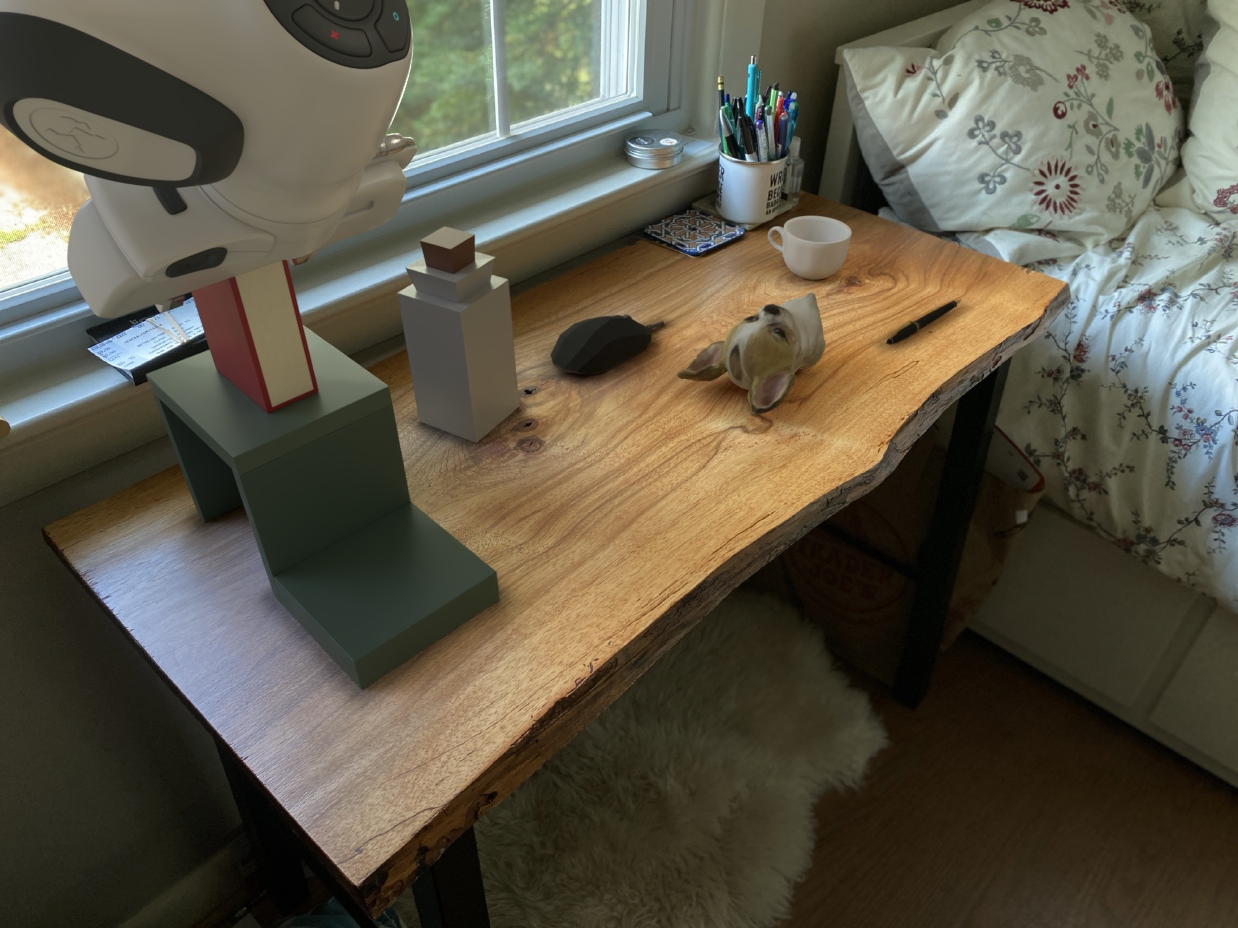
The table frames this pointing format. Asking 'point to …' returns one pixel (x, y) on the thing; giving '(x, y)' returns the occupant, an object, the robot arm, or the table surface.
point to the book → (258, 335)
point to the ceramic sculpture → (765, 352)
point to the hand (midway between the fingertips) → (233, 276)
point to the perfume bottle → (459, 337)
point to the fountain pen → (919, 323)
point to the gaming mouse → (600, 343)
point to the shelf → (326, 508)
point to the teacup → (813, 245)
